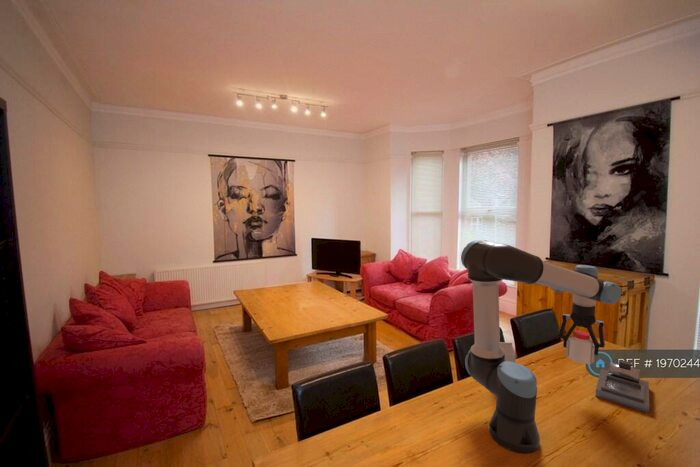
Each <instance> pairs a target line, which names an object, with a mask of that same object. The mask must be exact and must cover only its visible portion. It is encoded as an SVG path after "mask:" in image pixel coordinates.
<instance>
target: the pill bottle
mask: <svg viewBox="0 0 700 467" xmlns="http://www.w3.org/2000/svg"><path fill="white" fill-rule="evenodd" d="M572 333H573V334H571V335H570V336H569V338H568V339H569V352H568V359H569V360H570V361H573V362H575V363H578V364H583V365H584V364H585V365H588V364H592V363H591V355H592V346H593V345H594V344H593V341H592V339H591V336H590V334H589V332H588V331H587V332H586V331H583V330H573V332H572Z"/></svg>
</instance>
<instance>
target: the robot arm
mask: <svg viewBox="0 0 700 467" xmlns="http://www.w3.org/2000/svg"><path fill="white" fill-rule="evenodd" d="M462 249H463V250H462V251H461V255H460V262H461V264H462V266H463V267H464V268H465V269H466V270H467V279H468V280H469V281H470V282H471V283H472V300H473V301H472V303H473V304H472V305H473V306H472V308H473V331H474V334H473V335H474V344H473V345H471V346H470V349H469V351H468V352H467V354H466V356H465V359H464V364H465V370H466V372H467V373H468V374H469V376H471V377H472V379H473V380H475V381H476V382H477V383H479V384H480V385H481V386H483V387H484V388H485V389H487V391H489V392H490V393H491V394H493V395H494V396H495V410H494V411H493V414H492V416H491V418H490V420H489V426H488V431H489V435H490V437H491V438H492V439H493V440H494V441H495V442H496V443H497V444H498V445H500V446H501V447H502V448H503V447H504V448H506V449H507V450H509V451H512V452H515V453H520V454H529V453H534V452H536V451H537V450H539V448H540V443H541V442H540V441H541V440H540V439H541V437H540V433H539V430H538V426H537V423H536V418H535V417H536V409H537V408H536V407H537V398H538V397H537V394H538V385H537V383H538V382H537V381H538V380H537V377H536V374H535V373H534V372H533V371H532V370H531V369H530V368H528V367H527V366H525V365H523V364H522V363H517V362H516V361H515V362H510V361H506V362H505V351H504V349H503V348H502V347H500V342H501V341H500V339H501V336H500V335H501V334H500V333H501V331H500V296H499V294H500V293H499V284H500V283H501V281H503V280H504V281H505V280H506V281H509V282H510V281H512V282H518V283H522V284H526V285H533V284H537V285H542V286H544V287H548V288H550V289H551V290H553V292H556V293H561V294H562V293H569V294H572V302H573V303H572V305H571V306H572V307H571V313H570V314H566V313H563V315H561V316H562V322H561V326H560V330H559V334H558V337H559V338H561V339H563V348H565V357H568V352H569V339H570V336H572V333H573V331H575V329H576V328H577V327H581V328H585V329H587V332H588V333H589V334H590V339H591V340H592V341H593V346H592V355H591V363H590V364H594V362H595V356H598V355H599V349H600V348H605V345H606V344H605V343H606V342H605V334H604V333H605V332H604V324H605V321H604V320H598V319H596V316H595V315H596V304H597V302H600V303H602V304H606V305H615V304H616V303H618V301H620V298H621V295H622V289H621V286H620V285H619V284H618V283H615V282H611V281H608V280H604V279H600V278H599V269H598V267H596V266H594V265H593V266H592V265H587V264H578V265H576V266H575V267H574V270H571V269H570V268H569V269H568V268H566V267H562V266H559V265H557V264H553V263H549V262H546V261H543V260H542V258H541V257H539V256H538V255H535V254H532V253H529V252H527V251H524V250H522V249H520V248H517V247H516V246H513V245H509V244H506V243H499V242H494V241H489V240H485V239H484V240H480V239H476V240H472V241H470V242H468V243H467V244H466V246H464V247H463V248H462ZM569 319H571V320H572V322H573V323H572V325H571V326H570V328H569V329H568V331H567V332H566V334H565V329H566V327H567V322H568V321H569ZM594 324H596V326H597V328H598V330H597V331H598V337H599V341H598V339H597V336H596V334H595V331H594V329H593V326H592V325H594Z"/></svg>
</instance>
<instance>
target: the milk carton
mask: <svg viewBox="0 0 700 467" xmlns="http://www.w3.org/2000/svg"><path fill="white" fill-rule="evenodd" d="M500 347H502V348H503V349H504V351H505V362H506V361H510V362H515V363H516V356H517V355H516V353H515V349H514V346H513V342H506V341H503V342H502V341H500Z"/></svg>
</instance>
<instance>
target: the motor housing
mask: <svg viewBox="0 0 700 467" xmlns="http://www.w3.org/2000/svg"><path fill="white" fill-rule="evenodd" d="M649 384H650V383H649V381H647V380H644V379H641V370H640V369H636V368H633V367H632V362H630V361H627V360H622V359H619V360H618V364H617V363H613V362H609V367H608V370H607V369H603V368H601V369H600V370H599V376H598V380H597V384H596V387H595V397H597V398H599V399H603V400H606V401H609V402H612V403H615V402H616V404H618V403H619V405H621V404H622V406H625V407H628V408H630V409H634V410H638V411H640V412H643V413H646V412H647V413H646V414H650V413H649V412H650V385H649Z"/></svg>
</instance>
